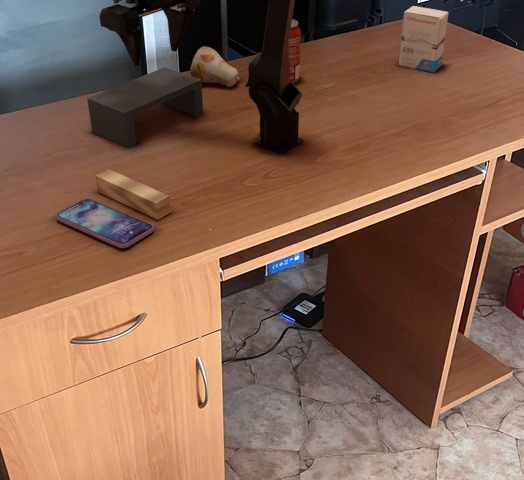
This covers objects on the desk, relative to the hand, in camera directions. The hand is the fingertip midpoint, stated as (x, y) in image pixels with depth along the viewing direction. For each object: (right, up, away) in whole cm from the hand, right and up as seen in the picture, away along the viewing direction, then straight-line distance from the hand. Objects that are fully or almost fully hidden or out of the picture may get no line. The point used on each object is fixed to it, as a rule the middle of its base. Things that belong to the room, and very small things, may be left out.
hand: (155, 58), depth 141 cm
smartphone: (-5, -33, -19) cm, 39 cm away
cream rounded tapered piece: (+10, +4, +25) cm, 27 cm away
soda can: (+24, +5, +26) cm, 36 cm away
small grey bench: (-3, -9, +10) cm, 14 cm away
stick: (-2, -28, -13) cm, 31 cm away
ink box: (+54, +10, +33) cm, 64 cm away
